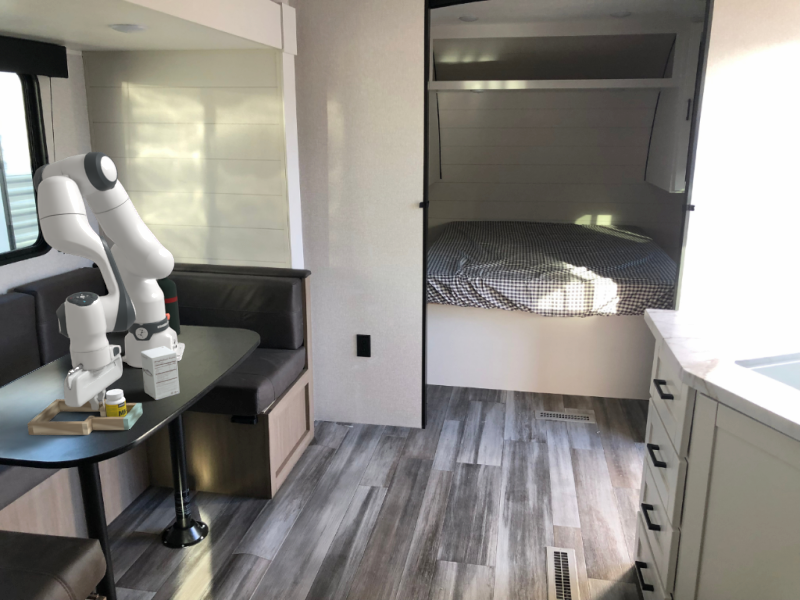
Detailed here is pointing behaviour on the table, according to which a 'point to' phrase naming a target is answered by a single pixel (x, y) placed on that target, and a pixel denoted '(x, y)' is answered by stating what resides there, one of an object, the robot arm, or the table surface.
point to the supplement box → (160, 372)
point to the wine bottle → (170, 302)
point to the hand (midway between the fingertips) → (98, 407)
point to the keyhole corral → (44, 427)
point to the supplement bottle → (115, 403)
